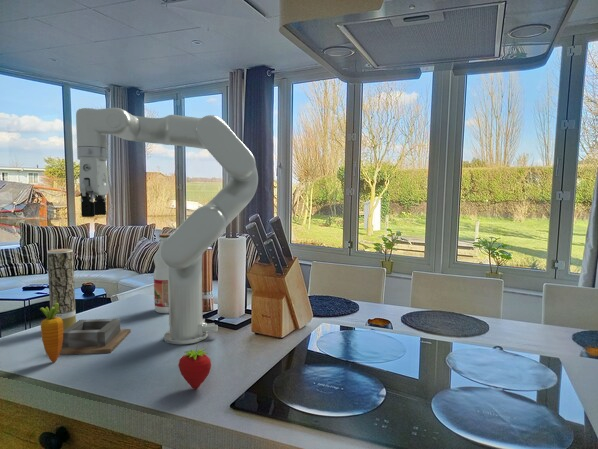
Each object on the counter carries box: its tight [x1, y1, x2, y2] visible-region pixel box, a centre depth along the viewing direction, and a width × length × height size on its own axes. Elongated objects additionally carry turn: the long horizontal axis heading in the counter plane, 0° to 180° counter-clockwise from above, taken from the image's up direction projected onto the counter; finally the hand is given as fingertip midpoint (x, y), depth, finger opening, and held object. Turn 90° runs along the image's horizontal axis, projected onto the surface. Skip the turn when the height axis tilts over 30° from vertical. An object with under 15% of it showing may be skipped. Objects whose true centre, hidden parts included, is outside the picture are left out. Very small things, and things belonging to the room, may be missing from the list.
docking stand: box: [59, 318, 131, 356], centre depth 114 cm, size 16×16×5 cm
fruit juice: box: [153, 232, 172, 314], centre depth 145 cm, size 9×9×28 cm
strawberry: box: [177, 342, 212, 390], centre depth 87 cm, size 6×8×10 cm
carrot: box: [39, 303, 63, 363], centre depth 100 cm, size 5×5×15 cm
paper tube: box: [46, 248, 77, 331], centre depth 125 cm, size 7×7×25 cm
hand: (94, 215), depth 113 cm, fingers open, 9 cm apart
